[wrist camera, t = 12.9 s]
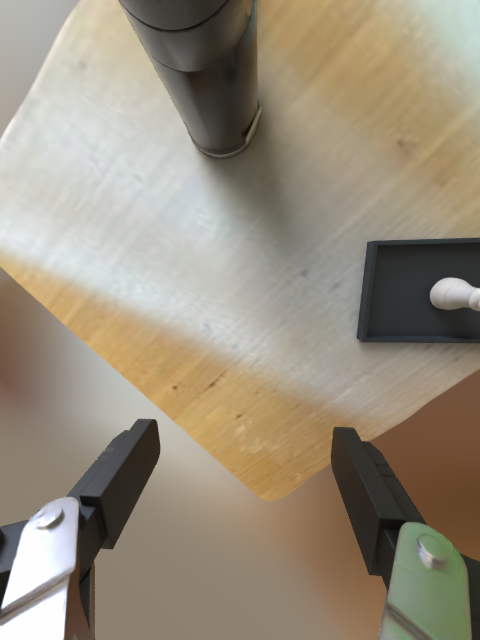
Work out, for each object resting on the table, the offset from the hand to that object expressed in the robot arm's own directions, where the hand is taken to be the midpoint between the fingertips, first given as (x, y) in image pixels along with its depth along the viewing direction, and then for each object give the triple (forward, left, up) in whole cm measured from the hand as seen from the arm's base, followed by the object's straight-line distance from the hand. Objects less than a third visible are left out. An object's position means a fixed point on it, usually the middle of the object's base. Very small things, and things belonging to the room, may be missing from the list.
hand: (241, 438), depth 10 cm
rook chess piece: (-3, +27, -26) cm, 37 cm away
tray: (-3, +26, -26) cm, 37 cm away
